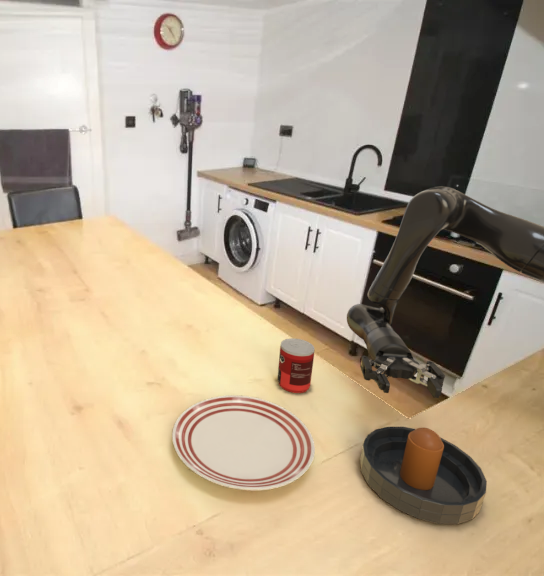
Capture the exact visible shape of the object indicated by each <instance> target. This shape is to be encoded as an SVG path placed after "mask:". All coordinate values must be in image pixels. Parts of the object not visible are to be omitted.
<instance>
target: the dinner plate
mask: <svg viewBox="0 0 544 576" xmlns="http://www.w3.org/2000/svg"><path fill="white" fill-rule="evenodd" d="M171 435H172V437H171V439H172V444H173V448H174V450H175V452H176V454H177V456H178V457H179V459H180V461H182V463H183V464H184V465H185V467H187V468H188V469H189V470H191V471H192V472H193V473H195V474H196V475H197V476H200V477H201V478H202V479H205V480H206V481H209V482H211V483H213V484H216V485H218V486H222V487H225V488H230V489H234V490H240V491H269V490H272V489H277V488H281V487H285V486H287V485H289V484H291V483H293V482H295V481H297V480H298V479H300V478H301V477H302V476H304V475H305V474H306V472H308V470H309V468H310V467H311V465H312V463H313V462H314V458H315V453H316V446H315V445H316V444H315V440H314V437H313V435H312V433H311V431H310V430H309V428H308V427H307V425H306V424H305V423H304V422H303V421H302V420H301V418H299V417H298V416H297V415H295V413H293V412H292V411H290V410H289V409H286V408H285V407H283V406H281V405H280V404H277V403H274V402H271V401H269V400H266V399H262V398H259V397H254V396H249V395H234V394H233V395H232V394H231V395H218V396H214V397H209V398H207V399H203V400H200V401H198V402H196V403H193V404H192V405H190V406H189V407H187V408H186V409H185V410H184V411H183V412H181V413H180V415H179V416H178V417H177V419H176V421H175V422H174V425H173V428H172V434H171Z"/></svg>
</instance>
